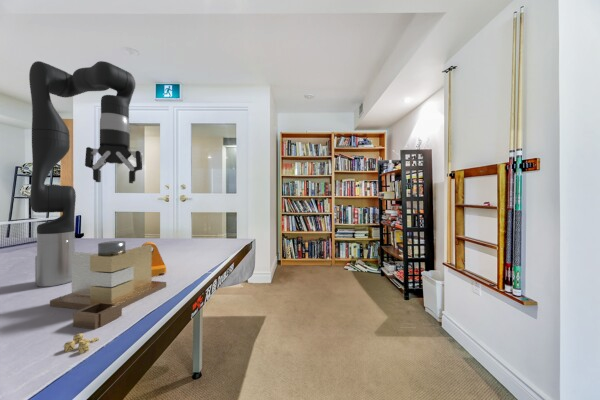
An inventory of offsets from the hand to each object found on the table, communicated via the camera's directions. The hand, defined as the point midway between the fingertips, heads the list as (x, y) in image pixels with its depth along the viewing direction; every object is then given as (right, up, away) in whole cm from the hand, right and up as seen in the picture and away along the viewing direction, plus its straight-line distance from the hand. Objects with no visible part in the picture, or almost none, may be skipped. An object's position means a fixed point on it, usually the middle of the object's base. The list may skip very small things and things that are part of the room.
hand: (115, 182), depth 78 cm
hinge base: (+4, -34, -8) cm, 35 cm away
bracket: (+1, -34, +16) cm, 38 cm away
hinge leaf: (+1, -32, -8) cm, 33 cm away
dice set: (+15, -35, -29) cm, 48 cm away
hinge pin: (+6, -32, -9) cm, 34 cm away
